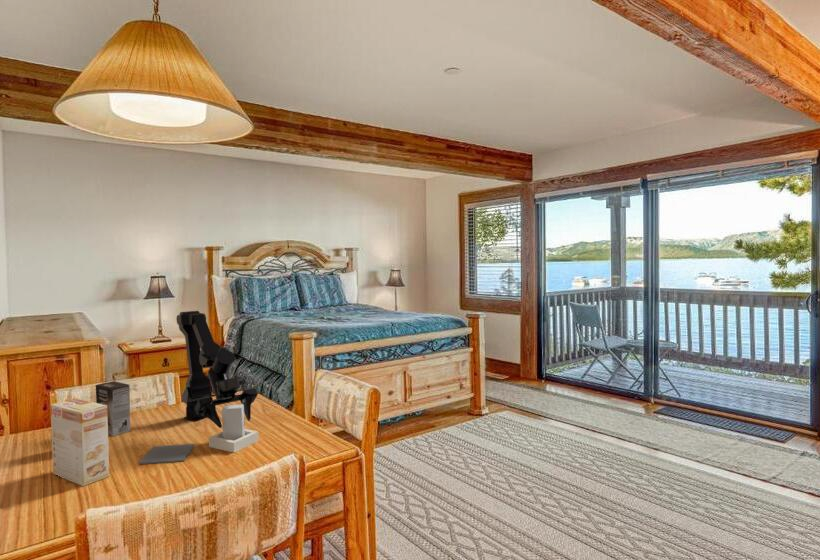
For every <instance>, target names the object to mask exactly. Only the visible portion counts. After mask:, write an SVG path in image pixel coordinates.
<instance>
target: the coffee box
mask: <svg viewBox="0 0 820 560" xmlns="http://www.w3.org/2000/svg"><path fill="white" fill-rule="evenodd" d="M130 391H131V389H130V384H128V383H123V382H119V381H115V380H114V381H108V382H102V383H98V384H96V385H95V401H96V402H95V403H98V404H103V405H107V416H108V436H110V437H116V436H118V435H122V434H124V433H127V432H131V393H130Z"/></svg>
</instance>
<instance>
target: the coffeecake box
mask: <svg viewBox="0 0 820 560" xmlns="http://www.w3.org/2000/svg"><path fill="white" fill-rule="evenodd" d="M50 422H51V423H50V424H51V426H50V427H51V447H52V448H51V452H52V454H51V455H52V474H53V473H54V474H56V475H58V476H57V477H59V476H60V477H59V478H61V477H62V478H61V479H64V478H65V479H64V480H66V479H67V481H69V482H71V483H73V484H76V485H79V486H82V487H85V486H88V485H90V484H92V483H95V482H99V481H102V480H104V479H106V478H109V477H110V476H111V475H110V460H109V459H110V458H109V457H110V454H109V453H110V452H109V435H108V416H107V405H103V404H98V403H96V402H93V401H89V400H84V399H81V398H72V399H67V400H63V401H59V402H55V403H51V404H50ZM54 474H53V475H54ZM56 475H55V476H56Z"/></svg>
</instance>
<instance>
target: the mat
mask: <svg viewBox="0 0 820 560" xmlns="http://www.w3.org/2000/svg"><path fill="white" fill-rule="evenodd" d="M195 445H196V444H195V443H189V444H186V443H185V444H172V445H171V444H170V445H155V446H152V448H151V449H150V450H148V452H147V453H146V455H144V456H143V457H142V459H141V460H139V462H138V465H150V464H165V463H167V464H168V463H181V462H184V461H185V460H186V459H187V458H188V456H189V455H190V453H191V452H192V451H193V449H194V448H195Z"/></svg>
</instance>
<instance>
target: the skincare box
mask: <svg viewBox="0 0 820 560" xmlns="http://www.w3.org/2000/svg"><path fill="white" fill-rule="evenodd" d="M221 418H222V421H221V422H222V432H223V438H224V439H229V440H233V441H234V440H236V439H239V438H241V437H243V436H245V429H246V425H245V422H246V421H245V413H244V404H242V403H241V404H224V406H223V407H222V409H221Z"/></svg>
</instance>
